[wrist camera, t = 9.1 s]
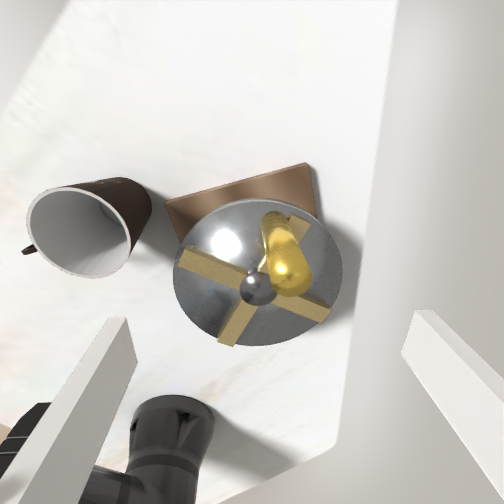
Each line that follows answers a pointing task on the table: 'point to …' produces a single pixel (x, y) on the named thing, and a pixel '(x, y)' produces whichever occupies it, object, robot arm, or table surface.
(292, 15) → the table surface
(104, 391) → the robot arm
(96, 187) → the coffee mug
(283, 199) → the wheel stand
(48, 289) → the table surface
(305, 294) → the handwheel
